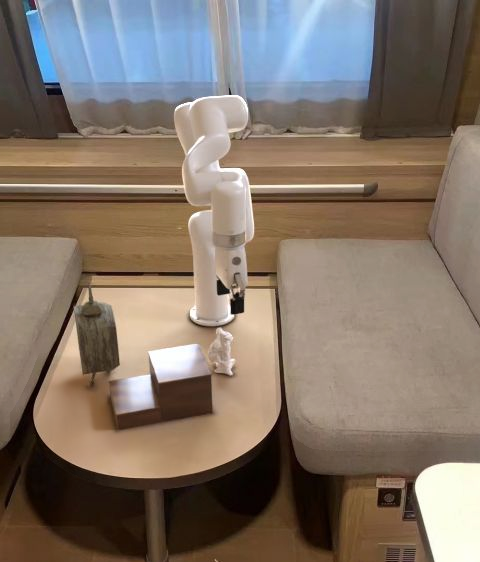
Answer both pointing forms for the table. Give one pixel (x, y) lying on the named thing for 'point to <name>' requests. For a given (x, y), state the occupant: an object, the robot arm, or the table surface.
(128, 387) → the step shelf
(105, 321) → the spike-topped wooden block
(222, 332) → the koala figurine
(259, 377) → the table surface
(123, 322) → the table surface
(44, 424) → the table surface
